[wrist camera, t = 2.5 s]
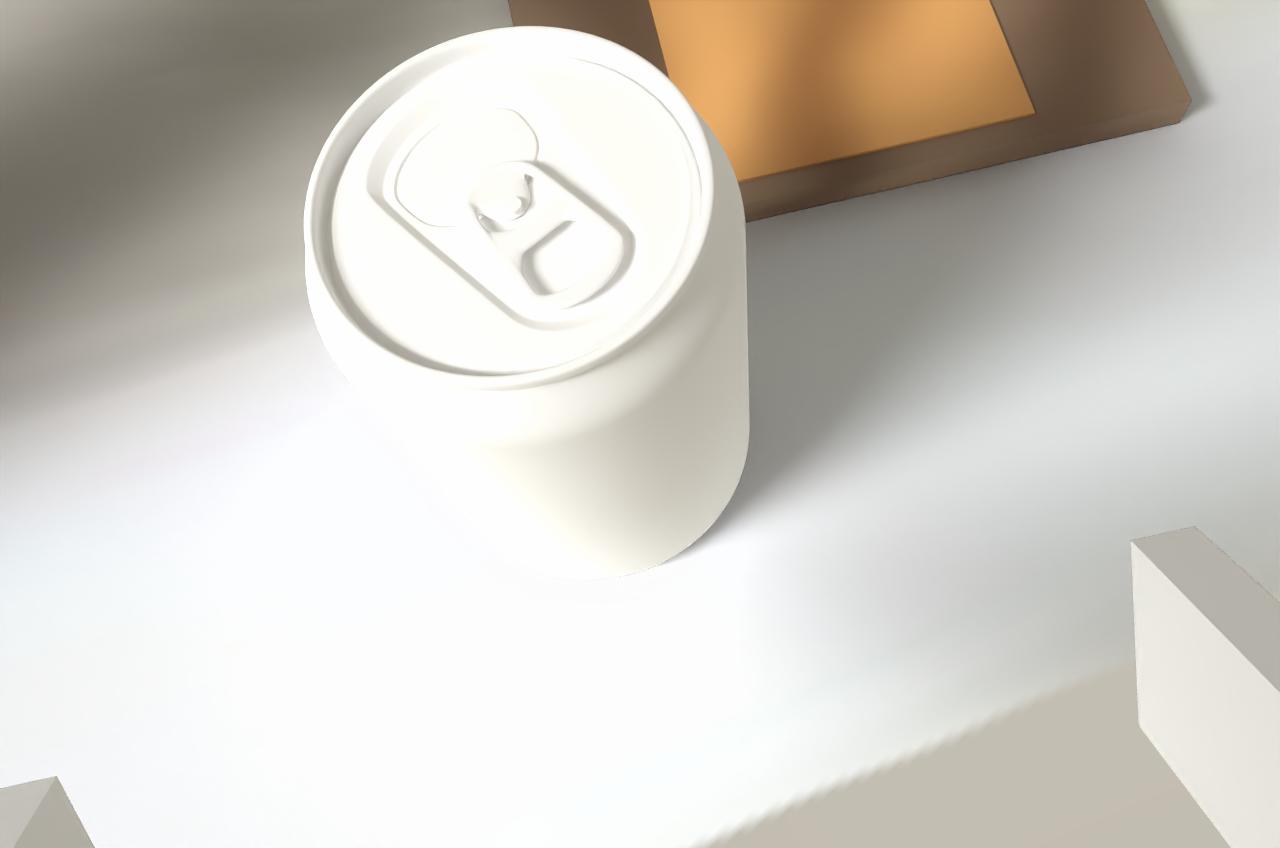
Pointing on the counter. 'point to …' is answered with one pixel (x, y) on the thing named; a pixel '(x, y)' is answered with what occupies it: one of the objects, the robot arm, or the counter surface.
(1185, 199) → the counter surface
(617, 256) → the beverage can
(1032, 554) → the counter surface
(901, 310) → the counter surface
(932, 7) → the label board
